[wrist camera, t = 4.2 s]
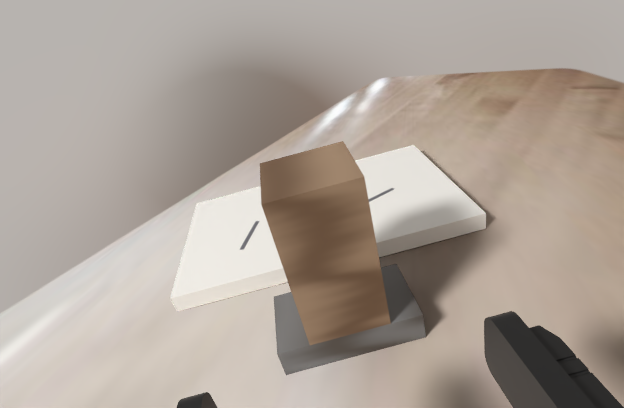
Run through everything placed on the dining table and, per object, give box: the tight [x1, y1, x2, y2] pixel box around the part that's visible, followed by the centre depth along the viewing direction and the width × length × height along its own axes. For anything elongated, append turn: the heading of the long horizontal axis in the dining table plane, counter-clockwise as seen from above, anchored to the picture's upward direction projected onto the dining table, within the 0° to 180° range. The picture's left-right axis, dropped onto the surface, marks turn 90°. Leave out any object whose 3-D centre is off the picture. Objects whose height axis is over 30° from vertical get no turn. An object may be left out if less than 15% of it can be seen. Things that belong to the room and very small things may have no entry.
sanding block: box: [260, 141, 426, 375], centre depth 23 cm, size 9×5×12 cm, turn 98°
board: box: [170, 145, 486, 312], centre depth 38 cm, size 26×16×2 cm, turn 98°
